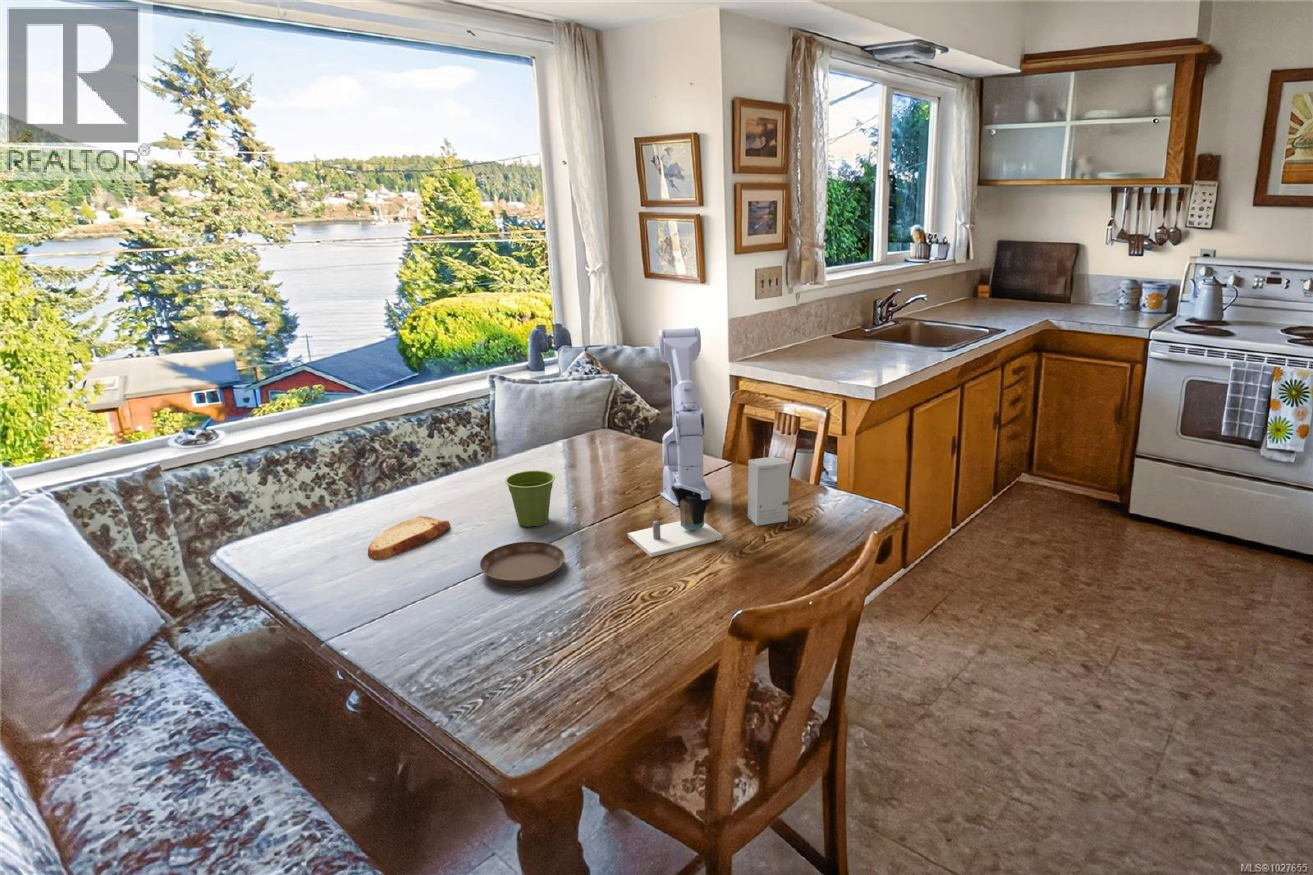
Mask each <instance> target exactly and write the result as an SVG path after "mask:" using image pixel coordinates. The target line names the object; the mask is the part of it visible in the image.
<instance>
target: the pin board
mask: <svg viewBox="0 0 1313 875" xmlns="http://www.w3.org/2000/svg"><path fill="white" fill-rule="evenodd" d="M723 536H724V535H723V534H722V533H720V532H719V531H718V530H716V529H715V528H713V527H712V526H710V525H709V524H707V523H706V522H704V526H703V527H702V528H700V529H696V530H690V529H684V528H683V527H682V526H681V520H678V521H673V522H670V523H665V524H662V525H661V521H660V520H654V521H652V527H648V528H644V529H643V528H642V529H639V530H635V531H631V532H627V538H628V539H630V540H631V541H632V543H634V544H635V545H637V546H638V547H639V548H640V549H641V550H642V551H643V552H644V553H646V554H647V555H648V556H649V557H650V558H653V557H657V556H661V555H664V554H670V553H673V552H677V551H681V550H685V549H689V548H692V547H697V546H701V545H704V544H709V543H713V542H717V541H720V540H723ZM716 540H717V541H716Z"/></svg>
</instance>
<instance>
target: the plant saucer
mask: <svg viewBox="0 0 1313 875" xmlns="http://www.w3.org/2000/svg"><path fill="white" fill-rule="evenodd" d="M565 560H566V555H565V552H564V551H563V550H562V549H561V548H560V547H559V546H557V545H555V544H552V543H548V542H542V541H532V540H531V541H518V542H512V543H507V544H503V545H500V546H497V547H496V548H493V549H491V550H489V551H488V552H487V553H486V554H485V555H483V556H482V558H481V559H480V561H479V568H480V570H481V572H482V573H483V574H484V575H485V576H486V577H487V578H488V579H490V580H491V581H492V582H494V583H495V584H498V585H499V586H505V587H511V588H512V587H513V588H517V587H518V588H519V587H530V586H533V585H538V584H540V583H543V582H545V581H548V580H549V579H551V578H552V577H553V576H554V575H556V574H557V572H558V571H559V570H561V569H560V568H561V567H562V566H563V563H564V562H565Z"/></svg>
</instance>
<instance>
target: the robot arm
mask: <svg viewBox="0 0 1313 875" xmlns="http://www.w3.org/2000/svg"><path fill="white" fill-rule="evenodd" d="M701 336H702V335H701V330H700V329H699V327H694V328H693V327H691V328H689V327H687V328H669V329H663V328H661V329H660V330H659V331H658V349H659V358H660V361H661V362H663V363H666V364H667V365H668V368H669V371H670V390H671V391H670V392H671V394H670V396H671V413H672V414H671V415H672V416H671V417H672V418H671V419H672V427H671V429H669V430H668V431H666V433H664V435H663V436H662V443H661V444H662V445H661V448H662V449H661V450H662V451H661V452H662V454H661V455H662V463H663V464H662V465H664V467H663V470H662V482H663V483H662V485H663V492H660V496H662V497H663V498H664V499H666V500H667V501H669V502H670V503H672V504H673V505H674V506H675V507H679V508H678V509H680V501H681V500H682V499H683V498H686V499H687V500H688V503H689V505H690V509H691V515H692V521H693V524H695V525H696V524H700V523H702V522H703V518H704V519H705V513H706V510H707V508H708V505H709V503H710V502H711V500H712V499H713V494H712V490H711V489H710V488H709V487H708V485H707V483H706V481H705V478H704V436H705V434H706V416H705V413H704V409H703V406H702V405H701V400H700V392H699V390H700V389H699V386H698V385H697V384H696V383H695V382H693V362H694V361H697V360H698V357H699V356H700V352H701V349H702V337H701Z"/></svg>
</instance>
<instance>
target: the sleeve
mask: <svg viewBox="0 0 1313 875" xmlns="http://www.w3.org/2000/svg"><path fill="white" fill-rule="evenodd" d="M679 510H680V521H681V526H682V527H683V528H684V529H690V530H696V529H700V528H702V527H703V526H704V523H705V517H704V518H703V522H702V523H700V524H696V525H695V524H693V521H692V515H691V509H690V505H689V503H688V500H687V499H686V498H683V499H682V500H681V501H680V508H679Z"/></svg>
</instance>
